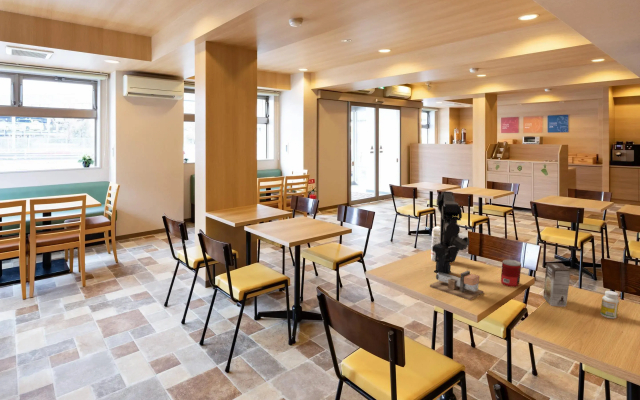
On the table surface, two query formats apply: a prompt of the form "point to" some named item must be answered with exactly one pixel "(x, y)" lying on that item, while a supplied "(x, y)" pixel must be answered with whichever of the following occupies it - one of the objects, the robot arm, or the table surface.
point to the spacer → (471, 279)
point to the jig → (457, 288)
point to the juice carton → (435, 240)
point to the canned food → (510, 273)
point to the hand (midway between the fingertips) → (447, 263)
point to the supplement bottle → (609, 304)
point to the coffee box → (556, 284)
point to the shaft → (445, 277)
